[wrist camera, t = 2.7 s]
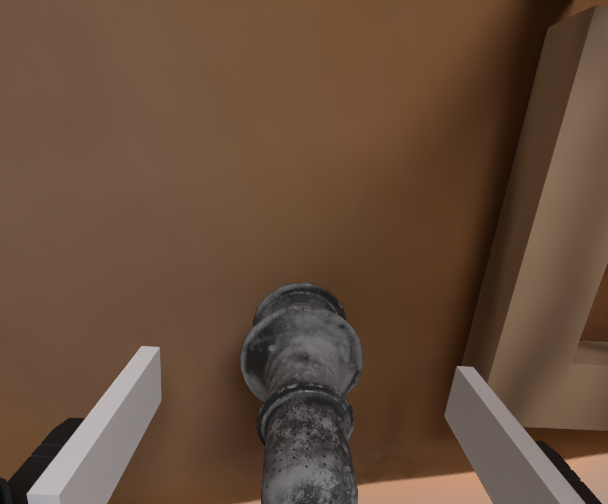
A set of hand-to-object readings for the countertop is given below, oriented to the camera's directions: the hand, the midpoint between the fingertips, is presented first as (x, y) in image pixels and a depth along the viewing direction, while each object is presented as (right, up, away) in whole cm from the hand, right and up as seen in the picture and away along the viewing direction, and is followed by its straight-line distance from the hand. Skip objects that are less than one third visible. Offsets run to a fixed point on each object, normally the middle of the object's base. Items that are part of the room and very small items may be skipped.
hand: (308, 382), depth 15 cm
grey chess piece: (0, +2, +5) cm, 5 cm away
